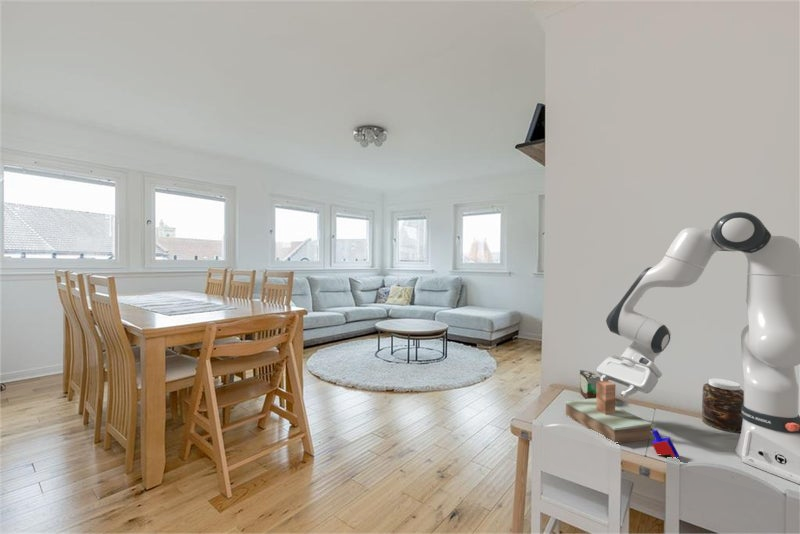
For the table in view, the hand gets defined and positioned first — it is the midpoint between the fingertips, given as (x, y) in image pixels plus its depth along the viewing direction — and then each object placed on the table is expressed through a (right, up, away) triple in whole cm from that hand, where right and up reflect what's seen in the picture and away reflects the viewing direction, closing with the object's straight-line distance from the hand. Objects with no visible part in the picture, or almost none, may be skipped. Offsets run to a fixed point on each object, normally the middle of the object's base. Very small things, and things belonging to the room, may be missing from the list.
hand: (611, 392), depth 127 cm
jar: (+40, -12, +1) cm, 41 cm away
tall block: (-2, -7, 0) cm, 7 cm away
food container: (+6, -12, +26) cm, 29 cm away
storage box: (-2, -12, 0) cm, 12 cm away
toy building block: (+5, -12, -19) cm, 23 cm away
